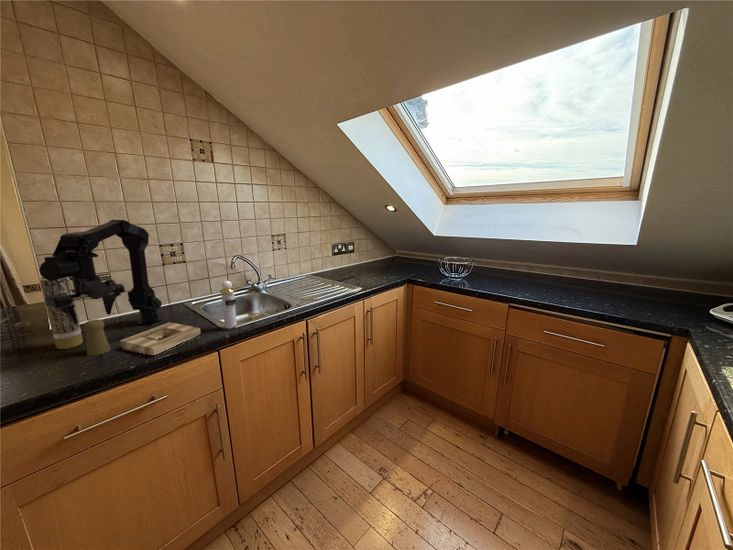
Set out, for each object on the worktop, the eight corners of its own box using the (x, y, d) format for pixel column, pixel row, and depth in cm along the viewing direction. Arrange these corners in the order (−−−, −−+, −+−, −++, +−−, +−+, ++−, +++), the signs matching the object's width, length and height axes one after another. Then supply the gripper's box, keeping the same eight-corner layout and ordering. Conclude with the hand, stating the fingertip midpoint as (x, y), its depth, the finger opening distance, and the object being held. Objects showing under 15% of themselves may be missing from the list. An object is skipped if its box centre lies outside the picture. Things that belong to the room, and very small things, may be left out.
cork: (115, 348, 102) (109, 318, 100) (95, 356, 97) (89, 325, 94) (102, 346, 104) (96, 316, 102) (82, 354, 98) (75, 323, 96)
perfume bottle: (220, 327, 121) (215, 280, 117) (234, 324, 125) (230, 278, 121) (227, 331, 117) (222, 283, 113) (241, 327, 122) (237, 280, 117)
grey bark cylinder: (88, 341, 108) (74, 274, 102) (71, 350, 101) (55, 279, 95) (69, 341, 107) (54, 274, 102) (50, 350, 101) (33, 278, 95)
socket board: (121, 348, 102) (120, 340, 102) (170, 329, 119) (169, 322, 118) (154, 356, 97) (152, 348, 97) (200, 335, 114) (200, 328, 113)
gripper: (61, 282, 83) (72, 333, 87) (131, 269, 100) (139, 313, 104) (38, 278, 87) (50, 328, 90) (110, 267, 104) (118, 309, 107)
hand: (92, 319), depth 98 cm, fingers open, 9 cm apart
